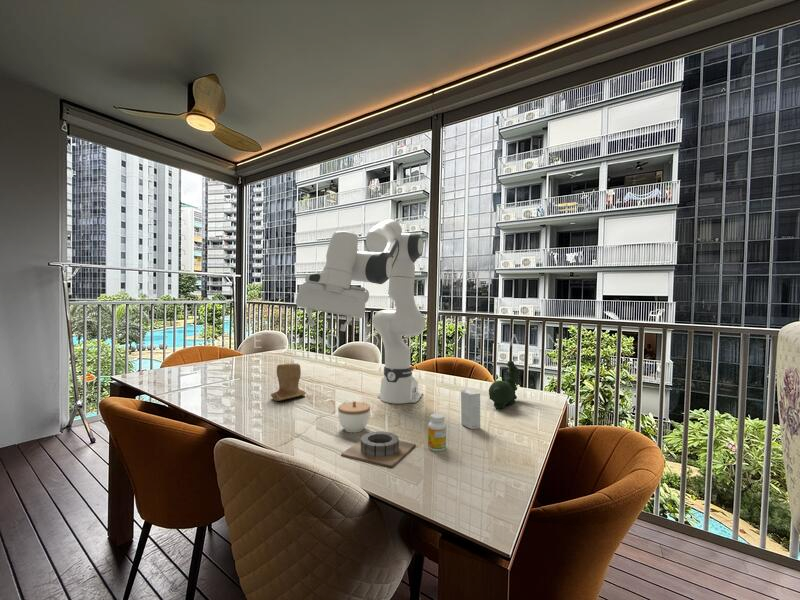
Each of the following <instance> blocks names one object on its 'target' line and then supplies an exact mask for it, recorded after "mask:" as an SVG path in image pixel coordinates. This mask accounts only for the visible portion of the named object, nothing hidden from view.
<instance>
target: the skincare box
mask: <svg viewBox="0 0 800 600" xmlns="http://www.w3.org/2000/svg"><path fill="white" fill-rule="evenodd" d="M460 412H461V413H460V414H461V415H460V417H461V421H460V422H461V425H462V426H464V427H466V428H468V429H470V430H477V429H481V393H479V392H477V391H474V390H472V389H466V390H461V391H460Z"/></svg>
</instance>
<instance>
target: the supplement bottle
mask: <svg viewBox="0 0 800 600" xmlns="http://www.w3.org/2000/svg"><path fill="white" fill-rule="evenodd" d="M446 447H447V424H446V423H445V415H444V414H442V413H432V414H431V415H430V422H428V426H427V448H428V449H429V450H431V451H433V452H440V451H441V452H442V451H444V450H446Z"/></svg>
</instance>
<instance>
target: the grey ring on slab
mask: <svg viewBox="0 0 800 600" xmlns="http://www.w3.org/2000/svg"><path fill="white" fill-rule="evenodd" d="M416 446H417V444H416V443H412V442H408V441H407V442H406V441H402V440H400V438H399V435H397V434H395V433H393V432H388V431H385V430H384V431H371V432H367V433H365V434H363V435H362V436H361V437H360V441H357V443H355V444H353V445H352V446H350V447H349V448H347V449H346V450H344V451H343V452H341V453H340V456H342V457H345V458H350V459H354V460H357V461H358V460H359V461H361V462H366V463H370V464H372V465H373V464H375V465H379V466H381V467H386V468H391V469H392V468H393V467H395V466H396V465H397V464H398V463H399V462H400V461H402V459H403V458H404V457H406V455H408V454H409V453H410V452H411V451H412V450H414V449H415V448H416Z"/></svg>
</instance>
